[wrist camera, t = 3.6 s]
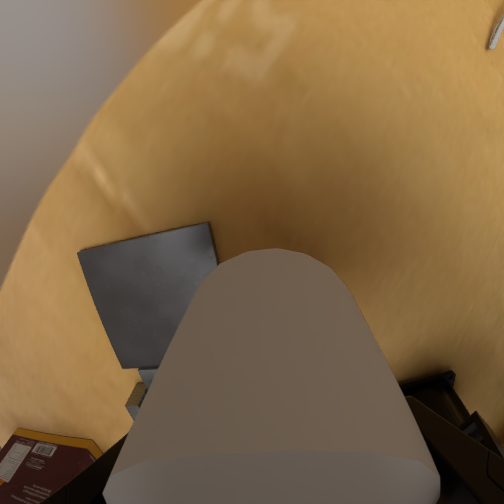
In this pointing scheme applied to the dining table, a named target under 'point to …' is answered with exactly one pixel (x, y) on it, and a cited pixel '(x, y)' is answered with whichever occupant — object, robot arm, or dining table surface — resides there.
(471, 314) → the dining table surface
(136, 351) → the base
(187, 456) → the can
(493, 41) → the sunglasses
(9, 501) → the supplement box
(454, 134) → the dining table surface
